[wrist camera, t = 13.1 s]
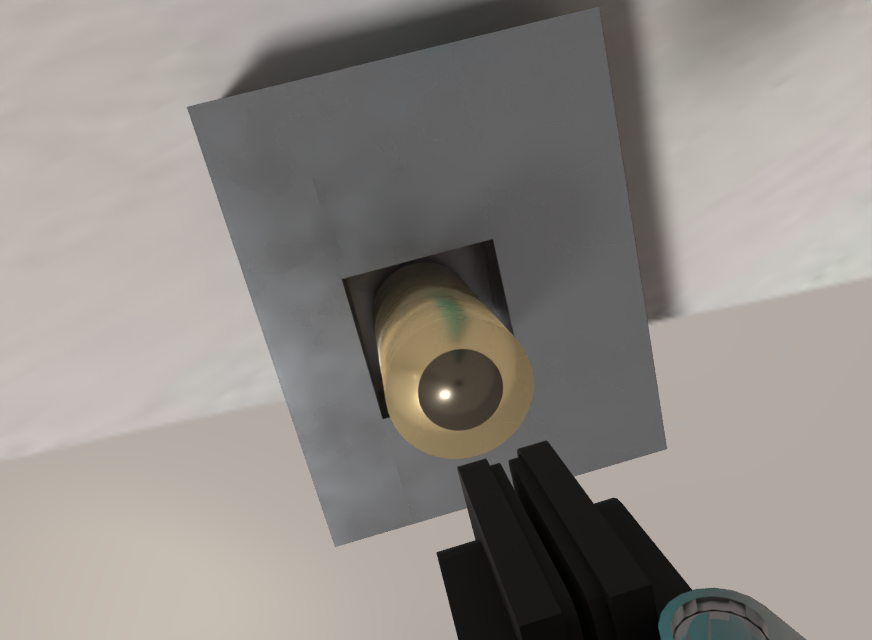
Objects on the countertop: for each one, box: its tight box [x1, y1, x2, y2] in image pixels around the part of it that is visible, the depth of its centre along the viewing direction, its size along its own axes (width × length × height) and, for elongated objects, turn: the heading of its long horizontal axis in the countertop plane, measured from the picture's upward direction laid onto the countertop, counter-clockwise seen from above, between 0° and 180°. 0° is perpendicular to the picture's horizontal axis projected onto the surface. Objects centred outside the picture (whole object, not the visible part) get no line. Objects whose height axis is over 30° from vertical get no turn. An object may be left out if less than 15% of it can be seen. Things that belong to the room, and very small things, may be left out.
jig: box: [187, 7, 667, 547], centre depth 25 cm, size 14×17×4 cm
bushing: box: [373, 262, 534, 459], centre depth 22 cm, size 4×4×9 cm
